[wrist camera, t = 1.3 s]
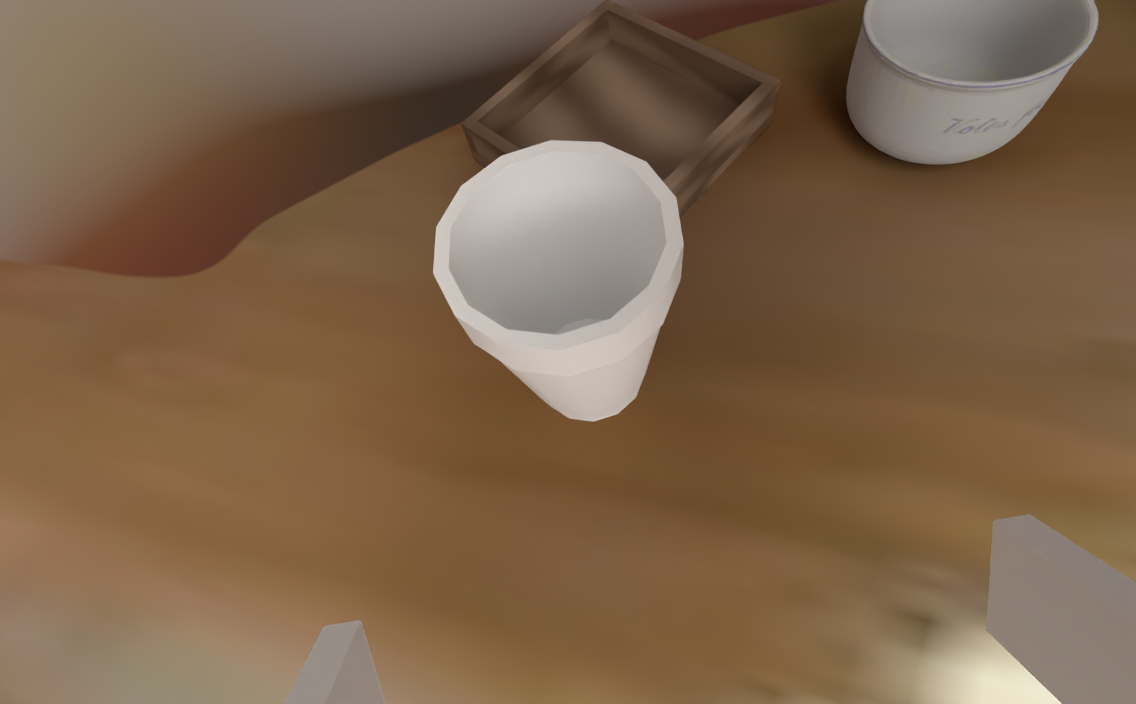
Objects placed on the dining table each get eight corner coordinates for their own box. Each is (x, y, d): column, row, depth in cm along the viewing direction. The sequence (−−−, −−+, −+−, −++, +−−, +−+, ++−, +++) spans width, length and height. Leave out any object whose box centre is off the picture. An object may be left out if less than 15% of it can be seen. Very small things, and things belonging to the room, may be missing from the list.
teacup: (924, 220, 34) (998, 115, 26) (791, 122, 38) (823, 9, 31) (1082, 101, 36) (1192, -27, 28) (938, 21, 40) (1001, -108, 33)
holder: (609, 43, 44) (606, -1, 41) (770, 124, 38) (781, 80, 35) (475, 161, 41) (460, 123, 37) (630, 267, 35) (627, 233, 32)
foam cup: (486, 344, 34) (399, 207, 23) (617, 273, 35) (599, 105, 23) (557, 480, 30) (497, 399, 19) (704, 396, 31) (735, 268, 19)
